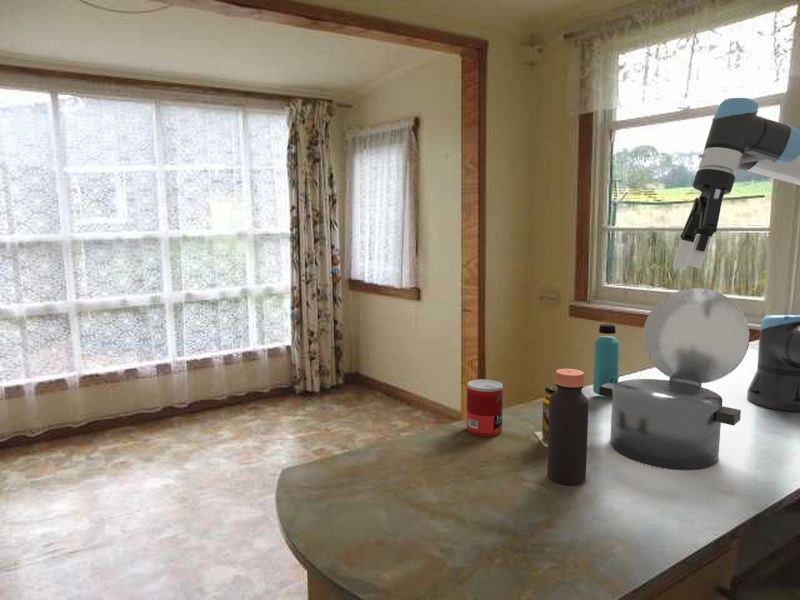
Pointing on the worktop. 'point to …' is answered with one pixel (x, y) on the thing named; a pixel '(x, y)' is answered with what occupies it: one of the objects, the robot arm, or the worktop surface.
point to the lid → (696, 336)
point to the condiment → (546, 415)
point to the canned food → (484, 407)
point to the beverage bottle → (606, 358)
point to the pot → (667, 422)
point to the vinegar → (568, 429)
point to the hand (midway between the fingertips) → (685, 267)
